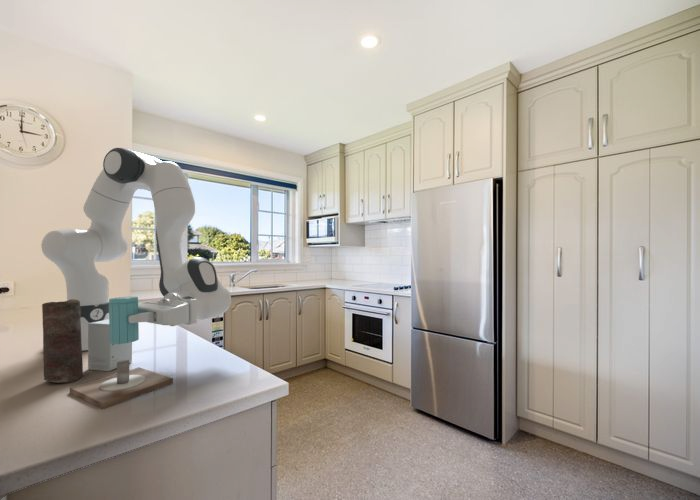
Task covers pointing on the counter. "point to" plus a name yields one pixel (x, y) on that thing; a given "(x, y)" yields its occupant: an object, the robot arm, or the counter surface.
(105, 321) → the supplement box
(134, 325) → the teal lidded canister
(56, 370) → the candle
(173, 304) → the robot arm
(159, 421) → the counter surface
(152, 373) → the mount plate
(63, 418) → the counter surface
